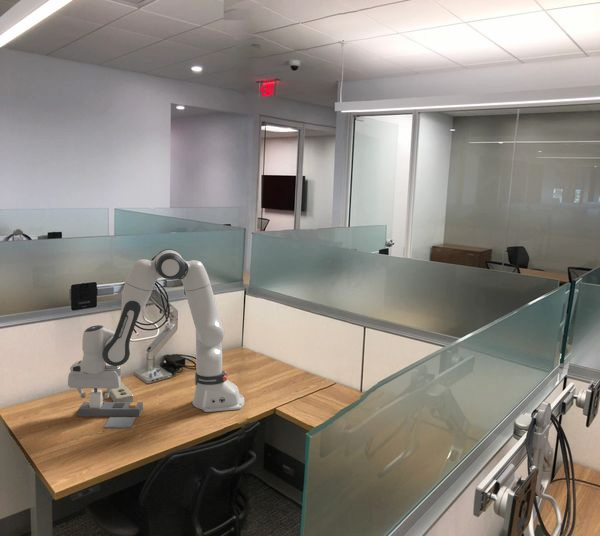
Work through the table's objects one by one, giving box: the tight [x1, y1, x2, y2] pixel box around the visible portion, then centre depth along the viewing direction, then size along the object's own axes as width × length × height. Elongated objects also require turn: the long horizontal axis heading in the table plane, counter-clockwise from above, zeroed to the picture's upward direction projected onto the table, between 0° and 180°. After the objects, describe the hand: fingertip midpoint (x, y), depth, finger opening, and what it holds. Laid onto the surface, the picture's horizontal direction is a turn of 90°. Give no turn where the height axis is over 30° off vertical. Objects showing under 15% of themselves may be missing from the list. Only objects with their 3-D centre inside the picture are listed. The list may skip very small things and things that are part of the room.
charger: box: [88, 388, 104, 408], centre depth 210 cm, size 4×4×11 cm
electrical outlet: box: [106, 382, 135, 402], centre depth 226 cm, size 7×4×18 cm
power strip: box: [77, 401, 144, 417], centre depth 211 cm, size 24×7×4 cm, turn 95°
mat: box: [103, 416, 136, 429], centre depth 203 cm, size 10×8×1 cm
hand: (94, 397), depth 210 cm, fingers open, 8 cm apart
